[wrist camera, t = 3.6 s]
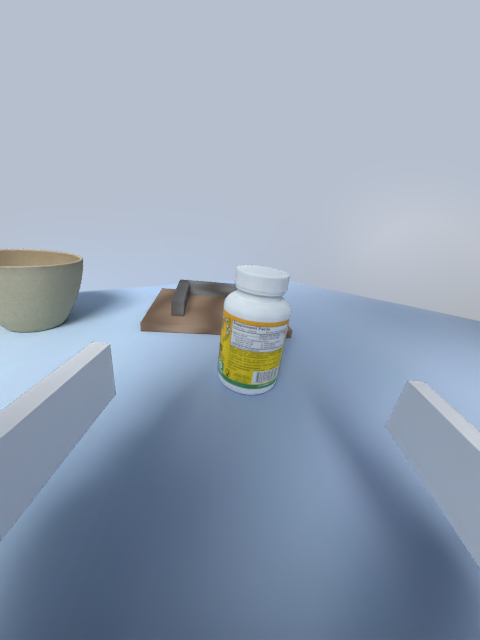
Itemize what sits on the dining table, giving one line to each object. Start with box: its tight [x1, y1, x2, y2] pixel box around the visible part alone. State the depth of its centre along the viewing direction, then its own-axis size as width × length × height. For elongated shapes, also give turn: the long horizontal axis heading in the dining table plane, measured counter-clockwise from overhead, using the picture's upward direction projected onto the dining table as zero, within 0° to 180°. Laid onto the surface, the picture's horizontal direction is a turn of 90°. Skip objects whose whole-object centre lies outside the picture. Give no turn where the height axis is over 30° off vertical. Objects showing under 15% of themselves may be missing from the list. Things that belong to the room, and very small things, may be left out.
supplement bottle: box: [218, 265, 291, 395], centre depth 19 cm, size 5×5×10 cm
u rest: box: [141, 280, 292, 338], centre depth 34 cm, size 18×14×3 cm
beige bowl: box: [0, 249, 83, 332], centre depth 24 cm, size 10×10×7 cm
